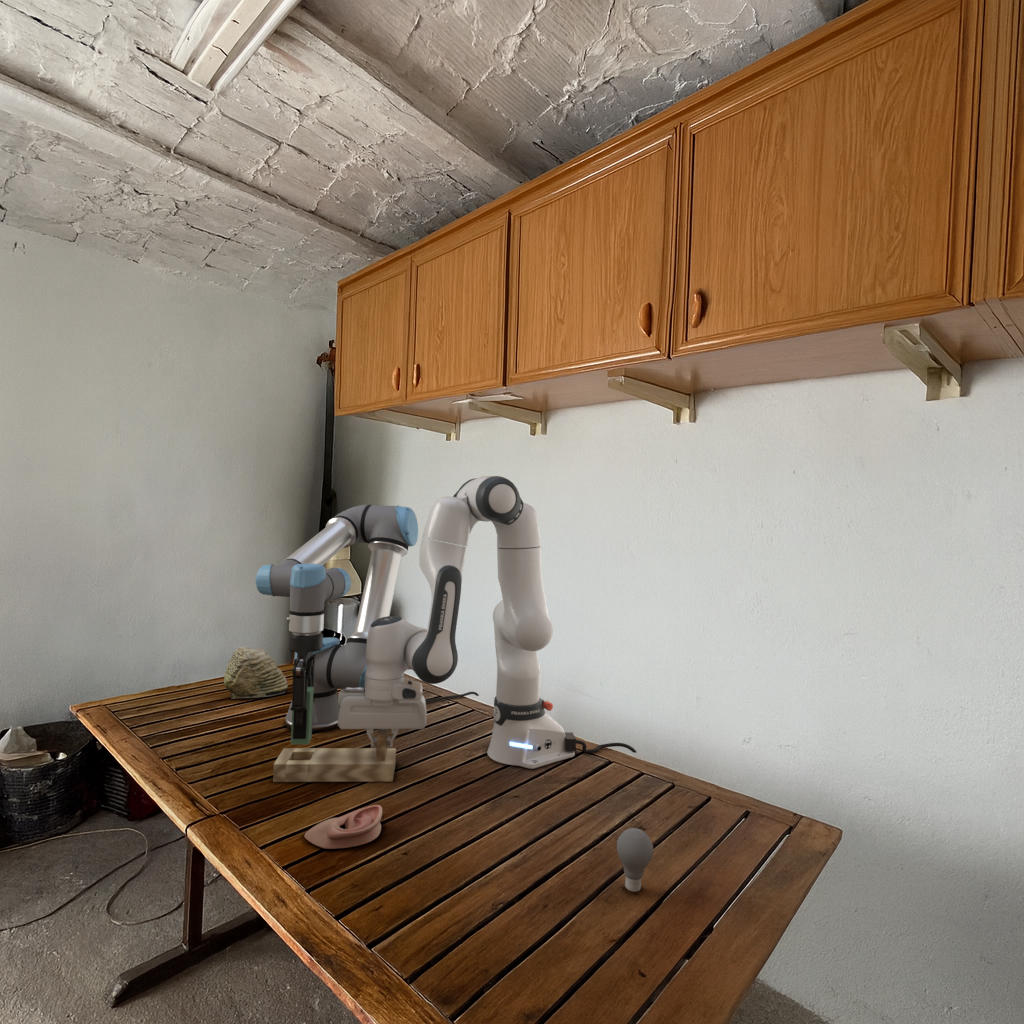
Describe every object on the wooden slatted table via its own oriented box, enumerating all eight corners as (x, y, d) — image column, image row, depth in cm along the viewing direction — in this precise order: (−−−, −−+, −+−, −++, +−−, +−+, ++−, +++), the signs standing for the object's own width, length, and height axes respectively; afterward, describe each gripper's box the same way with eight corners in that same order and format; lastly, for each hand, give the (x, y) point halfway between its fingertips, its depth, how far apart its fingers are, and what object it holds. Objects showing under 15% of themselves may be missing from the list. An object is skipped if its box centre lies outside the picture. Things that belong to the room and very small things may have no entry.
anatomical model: (296, 822, 115) (327, 794, 126) (295, 844, 115) (326, 814, 126) (364, 833, 112) (389, 803, 124) (363, 855, 112) (388, 823, 124)
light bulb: (610, 878, 109) (613, 821, 108) (645, 878, 109) (647, 821, 109) (619, 901, 103) (622, 840, 103) (655, 900, 103) (658, 839, 103)
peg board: (272, 782, 140) (274, 737, 139) (283, 764, 148) (284, 722, 148) (392, 781, 142) (394, 737, 142) (395, 764, 151) (397, 723, 151)
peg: (294, 738, 146) (296, 686, 146) (311, 738, 146) (313, 686, 146) (290, 744, 142) (292, 691, 142) (308, 744, 143) (310, 691, 142)
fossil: (219, 695, 195) (221, 647, 195) (279, 686, 207) (281, 640, 207) (229, 703, 188) (231, 653, 188) (290, 693, 201) (292, 646, 200)
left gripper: (297, 624, 152) (293, 721, 152) (279, 639, 135) (274, 748, 135) (329, 625, 153) (325, 721, 153) (315, 640, 136) (310, 749, 136)
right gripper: (335, 691, 142) (333, 752, 142) (427, 691, 144) (425, 752, 144) (340, 683, 148) (338, 741, 148) (428, 683, 150) (426, 741, 151)
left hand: (301, 734), depth 144 cm, fingers closed on peg, 4 cm apart
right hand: (382, 746), depth 146 cm, fingers closed on peg board, 2 cm apart
